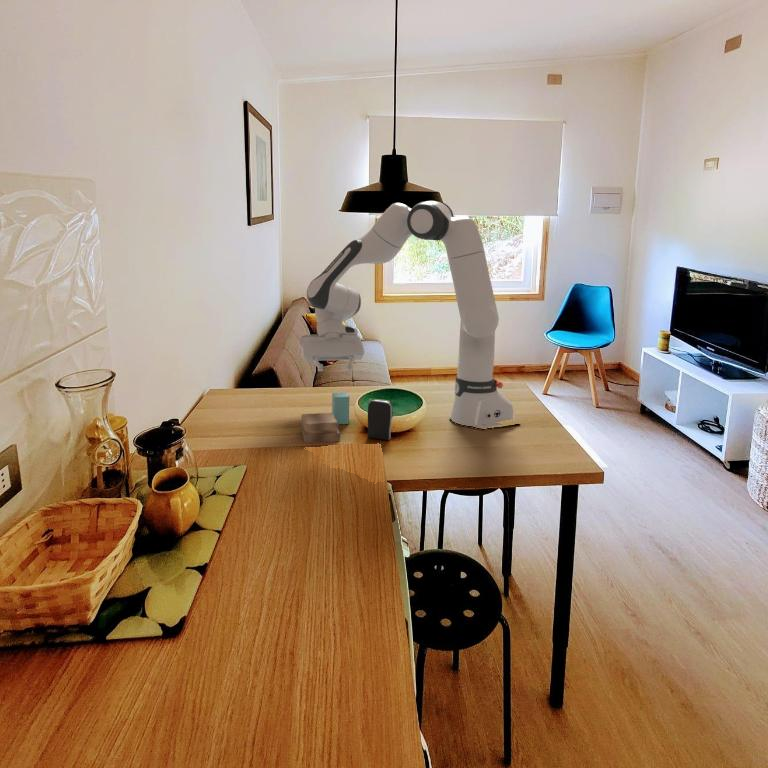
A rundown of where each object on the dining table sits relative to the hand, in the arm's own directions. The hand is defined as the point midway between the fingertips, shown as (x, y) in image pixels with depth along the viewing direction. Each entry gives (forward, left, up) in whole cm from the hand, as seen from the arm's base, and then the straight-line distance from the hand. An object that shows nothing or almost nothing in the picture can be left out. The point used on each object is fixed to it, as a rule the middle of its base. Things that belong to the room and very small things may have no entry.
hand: (335, 370), depth 195 cm
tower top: (+8, +22, -12) cm, 26 cm away
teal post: (0, +11, -14) cm, 18 cm away
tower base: (+8, +22, -15) cm, 28 cm away
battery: (-9, +26, -14) cm, 31 cm away
